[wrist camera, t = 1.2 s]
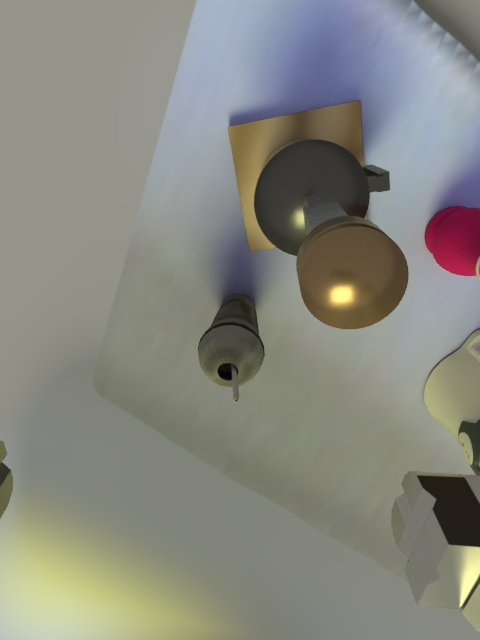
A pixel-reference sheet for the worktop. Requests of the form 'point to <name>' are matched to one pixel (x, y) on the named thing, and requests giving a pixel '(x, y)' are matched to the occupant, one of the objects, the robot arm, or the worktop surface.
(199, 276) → the worktop surface
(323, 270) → the plunger
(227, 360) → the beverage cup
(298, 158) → the press
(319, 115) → the plate
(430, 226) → the pepper mill
